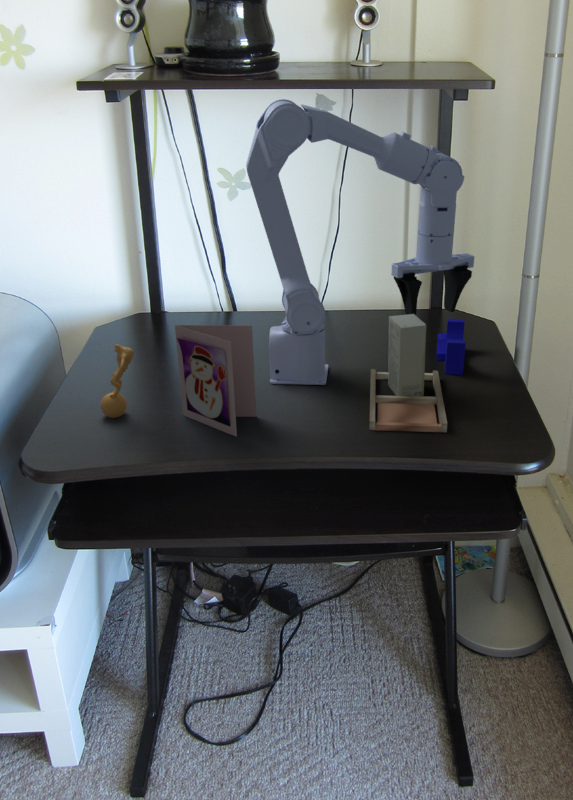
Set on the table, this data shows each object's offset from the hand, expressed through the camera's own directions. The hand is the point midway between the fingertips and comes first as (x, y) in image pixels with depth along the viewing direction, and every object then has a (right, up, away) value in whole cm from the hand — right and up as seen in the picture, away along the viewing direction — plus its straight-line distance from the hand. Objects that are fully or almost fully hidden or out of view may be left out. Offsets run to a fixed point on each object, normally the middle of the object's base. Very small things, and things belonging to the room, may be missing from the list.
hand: (430, 313), depth 124 cm
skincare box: (-5, -13, -3) cm, 14 cm away
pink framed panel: (-5, -15, -7) cm, 18 cm away
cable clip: (+5, -8, +7) cm, 12 cm away
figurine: (-50, -17, -9) cm, 54 cm away
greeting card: (-34, -18, -11) cm, 40 cm away
